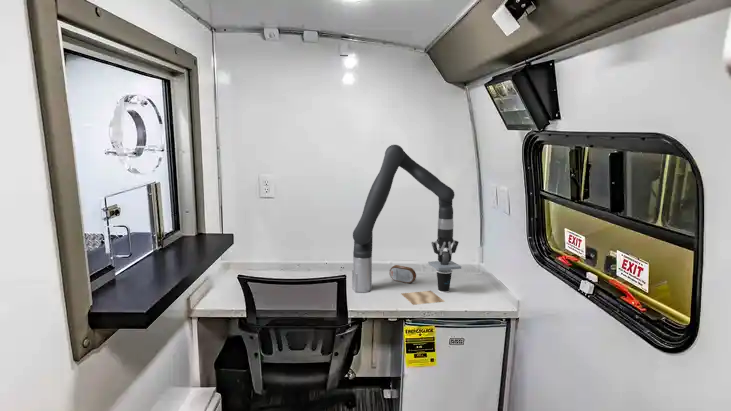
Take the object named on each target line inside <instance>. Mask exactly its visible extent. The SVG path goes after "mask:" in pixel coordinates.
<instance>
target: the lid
mask: <svg viewBox="0 0 731 411" xmlns="http://www.w3.org/2000/svg"><path fill="white" fill-rule="evenodd" d="M427 264H428V265H429V266H431V267H432V268H434V269H435V270H438V271H440V270H452V271H453V270H460V269H462V266H461V265H460V264H458V263H457V262H454V261H453V260H452V259H451V260H450V262H449V252H447V250H446V251H445V250H443V252H442V262H439V261H438V260H436V261H428V263H427Z"/></svg>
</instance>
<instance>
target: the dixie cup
mask: <svg viewBox="0 0 731 411" xmlns="http://www.w3.org/2000/svg"><path fill="white" fill-rule="evenodd" d="M435 271H436V277H437V278H436V279H437V280H436V281H437V288H438V289H437V290H438V292H439V293H442V294H444V293H449V291H450V287H451V279H452V273H453V269H452V270H440V271H438V270H437V269H435Z"/></svg>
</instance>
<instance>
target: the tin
mask: <svg viewBox="0 0 731 411" xmlns="http://www.w3.org/2000/svg"><path fill="white" fill-rule="evenodd" d="M389 277H390V278H391V279H392V281H395V282H399V283H404V284H412V283H413V282H415V281H416V279H417V273H416V271H415V269H413V268H412V267H410V266H404V265H397V264H394V265H393V266H392V267H390V269H389Z"/></svg>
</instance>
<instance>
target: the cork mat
mask: <svg viewBox="0 0 731 411" xmlns="http://www.w3.org/2000/svg"><path fill="white" fill-rule="evenodd" d="M400 295H401V296H403V297H404V298H405V299H406V300H407V301H409V303H410V304H411V305H412V306H414V305H424V304H432V303H433V304H435V303H444V302H445V303H446V301H445V300H444V299H443V298H441V297H440V296H438V295H437V294H436V292H433V291H431V290H425V291H415V292H413V291H412V292H405V293H404V292H403V293H400Z"/></svg>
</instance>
